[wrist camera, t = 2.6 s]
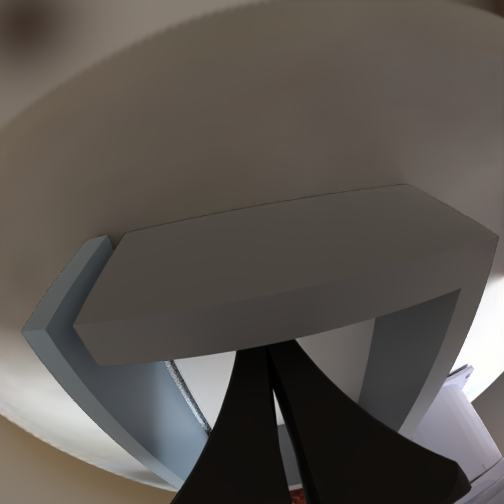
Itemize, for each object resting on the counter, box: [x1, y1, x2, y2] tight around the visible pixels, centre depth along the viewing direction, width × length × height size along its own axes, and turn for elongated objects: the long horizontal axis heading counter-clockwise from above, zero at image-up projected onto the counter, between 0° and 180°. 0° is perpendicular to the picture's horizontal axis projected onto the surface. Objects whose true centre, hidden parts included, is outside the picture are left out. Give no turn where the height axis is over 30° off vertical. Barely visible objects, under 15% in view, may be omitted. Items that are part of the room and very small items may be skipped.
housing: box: [73, 184, 499, 491], centre depth 10 cm, size 14×10×4 cm
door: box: [21, 234, 209, 490], centre depth 10 cm, size 14×2×4 cm, turn 9°
